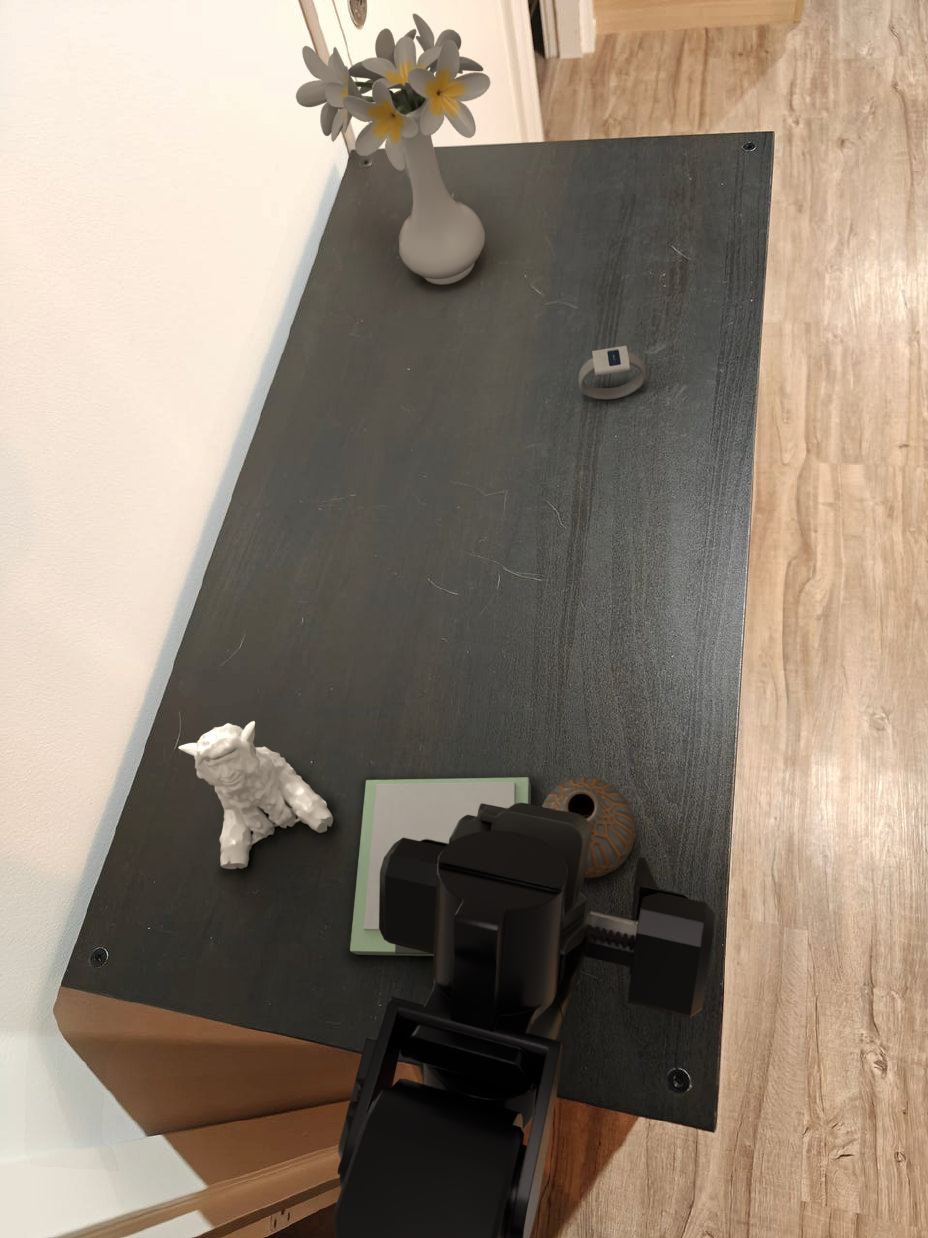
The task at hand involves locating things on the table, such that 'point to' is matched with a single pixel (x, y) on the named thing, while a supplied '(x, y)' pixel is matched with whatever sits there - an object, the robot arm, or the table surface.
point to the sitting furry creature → (253, 790)
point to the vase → (598, 820)
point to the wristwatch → (611, 363)
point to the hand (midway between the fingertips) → (569, 848)
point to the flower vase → (409, 134)
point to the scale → (414, 835)
